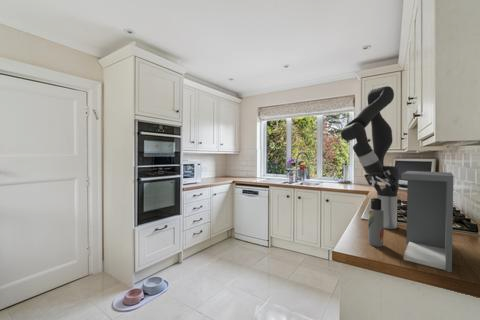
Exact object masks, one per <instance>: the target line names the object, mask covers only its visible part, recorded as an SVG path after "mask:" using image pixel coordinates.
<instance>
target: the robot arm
mask: <svg viewBox="0 0 480 320" xmlns="http://www.w3.org/2000/svg"><path fill="white" fill-rule="evenodd" d="M394 97H395V92H394V89H393V87H391V86H389V85H388V86H387V85H386V86H381V87H377V88H374V89H371V90H370V89H369V91H368V93H367V98H366V99H367V105H366V106H365V107H363V108H362V109H360V110H359V112H358V113H357V114H356V115H355V116H354V117H353V119H352V120H351V121H349V122H348V123H347V124H346V125H345V126H343V128H342V129H341V132H340V137H341V138H342V139H343V140H344V141H347V142H351V141H353V140H356V143H355V144H354V145H353V146H352V150H353V151H354V154H355V155H356V157H357V159H358V161H359V163H360V165H361V167H362V168H363V169H364V170H363V171H365V174H363V175H364V178H365V180H366V182H367V184H368V185H369V186H372V187H374V189H375V190H376V198H379V199H380V200H381V210H383V211H384V229H387V230H394V229H397V228H398V224H397V223H398V192H399V182H400V172H399V168H398V167H397V166H393V165H391V166H390V165H385V164H384V163H385V162H384V160H385V156H386V154H387V152H388V151H389V149H390V148H391V146H392V144H393V130H392V128H391V125H390V124H389V123H388V121H386V120H385V118H384V117H383V116H382V114H381V111H382V110H383V109H385V108H386V107H387V106H388V105H390V104H391V103H392V102H393V100H394ZM370 123H371V138H372V140H371V141H372V146H371V145H370V143H369V140H368V137H367V132H366V129H365V128H367V126H368V125H369V124H370ZM379 183H382V184H386V187H382V188H381V186H380V185H379Z"/></svg>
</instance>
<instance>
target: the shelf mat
mask: <svg viewBox="0 0 480 320" xmlns="http://www.w3.org/2000/svg"><path fill="white" fill-rule="evenodd" d="M405 249H406V250H405V251H404V253H403V261H406V262H407V261H408V262H412V263H416V264H419V265H422V266H427V267H432V268H435V269H439V270H443V271H446V263H445V249H443V248H438V247H433V246H428V245H424V244H419V243H414V242H409V243H408V244H407V246H406V248H405Z"/></svg>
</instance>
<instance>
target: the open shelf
mask: <svg viewBox="0 0 480 320" xmlns="http://www.w3.org/2000/svg"><path fill="white" fill-rule="evenodd" d="M400 177H401V178H400V179H401V180H407V186H406V187H407V188H406V189H407V190H406V192H407V193H406V195H407V196H406V245H408V243H409V242H414V243H419V244H424V245H428V246H433V247H438V248H443V249H445V263H446V270H445V272H447V273H453V272H452V271H453V270H452V269H453V227H454V225H453V224H454V222H453V221H454V220H453V218H454V214H453V213H454V179H455V178H454V174H453V173H452V172H447V171H442V172H441V171H419V170H415V171H414V170H407V171H405V172H402V173H401V176H400Z"/></svg>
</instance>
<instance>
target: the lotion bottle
mask: <svg viewBox="0 0 480 320" xmlns="http://www.w3.org/2000/svg"><path fill="white" fill-rule="evenodd" d="M367 219H368V223H367V225H368V227H367V228H368V229H367V233H368V234H367V243H368V244H369V245H370V246H374V247H383V246H384V229H385V228H384V211H383V210H381V200H380V199H379V198H377V197H375V198H374V197H373V198H370V208H369V209H368V218H367Z"/></svg>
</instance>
